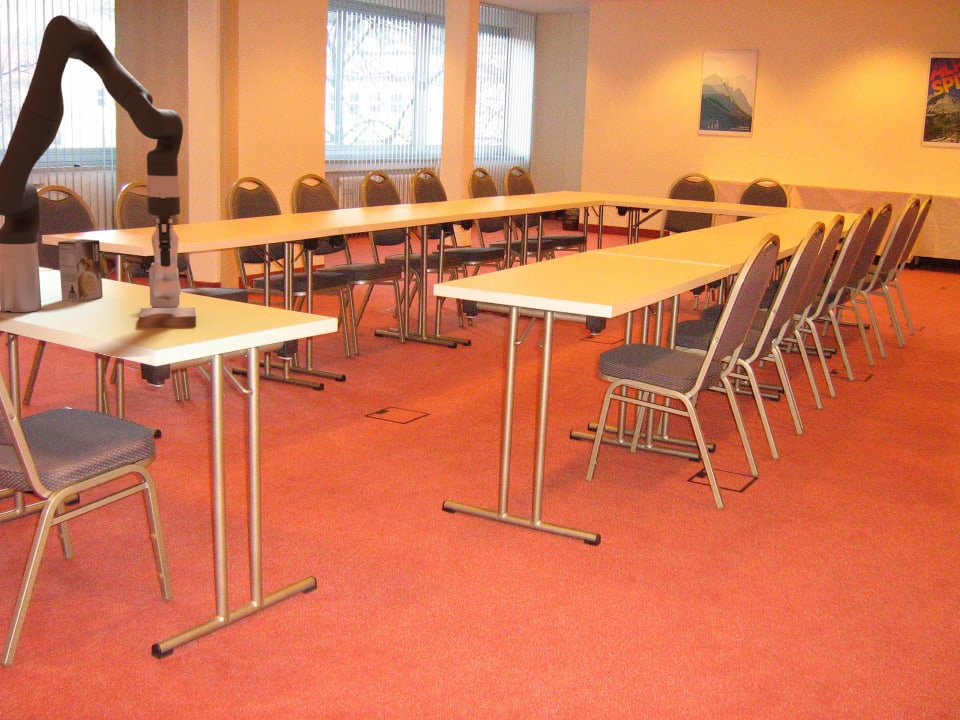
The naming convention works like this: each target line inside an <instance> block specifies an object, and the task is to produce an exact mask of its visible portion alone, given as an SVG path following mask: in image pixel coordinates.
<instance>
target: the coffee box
mask: <svg viewBox="0 0 960 720" xmlns="http://www.w3.org/2000/svg"><path fill="white" fill-rule="evenodd" d="M57 244H58V245H57V246H58V249H57V250H58V259H59V262H58V263H59V275H60V290H61V293H60V294H61V301H66V300H69V302H75V301H76V302H78V303H81V302H85V301H91V300H95V299H100V298H103V297H104V296H103V294H104V293H103V282H102V281H103V279H102V267H101V265H102V262H101V247H100V240H99V239H98V240H95V239H85V238H84V239H81V238H80V239H72V240H64V241H63V240H61V241H58V242H57Z"/></svg>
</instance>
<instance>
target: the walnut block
mask: <svg viewBox="0 0 960 720" xmlns="http://www.w3.org/2000/svg"><path fill="white" fill-rule="evenodd" d="M138 325H139V326H138V327H139V328H179V327H180V328H181V327H182V328H183V327H185V328H186V327H188V328H189V327H190V328H191V327H197V316H196V307H177V308H153V307H146V308H145V307H144V308H143V307H142V308H140V311H139V315H138Z"/></svg>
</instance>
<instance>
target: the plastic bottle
mask: <svg viewBox="0 0 960 720" xmlns="http://www.w3.org/2000/svg"><path fill="white" fill-rule="evenodd" d="M156 222H157V223H159V216H156ZM172 222H173V217H172V216H169V223H172ZM179 240H180V239H179V236H178V234H177V233H176V231H175V229H173V231H172V241H171V242H170V245H171V249H170V266H169V267H163V266H161V258H160V249H159V241H158V240H157V231H156V229H155V231H154V232H153V234H152V235H151V240H150V241H151V245H152V246H151V247H152V252H153V257H154V258H153V259H154V260H153V261H154V263H155V280H154V285H153V291H154V295H155V297H156V298H159V299H163V300H171V299H175V298H178V297H179V298H180V295H181V291H182V288H181V284H180V277H179V278H178V272H179V268H178V253H179V243H180V241H179ZM162 244H168V241H162ZM177 268H178V269H177ZM178 279H179V280H178Z"/></svg>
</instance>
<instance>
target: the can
mask: <svg viewBox="0 0 960 720" xmlns="http://www.w3.org/2000/svg"><path fill="white" fill-rule="evenodd" d="M177 269H178V270H179V268H178V267H177ZM178 278H179V279H178V280H179V281H180V276H179V271H178ZM154 280H155V262H152V263H151V264H150V268H149V269H148V281H149V282H148V283H149V304H150V307H151V308H179V306H180V304H181V303H180V302H181V301H180V296H179V297H178V298H175V299H171V300H163V299H159V298H156V297H155V295H154V291H153V285H154Z"/></svg>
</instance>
